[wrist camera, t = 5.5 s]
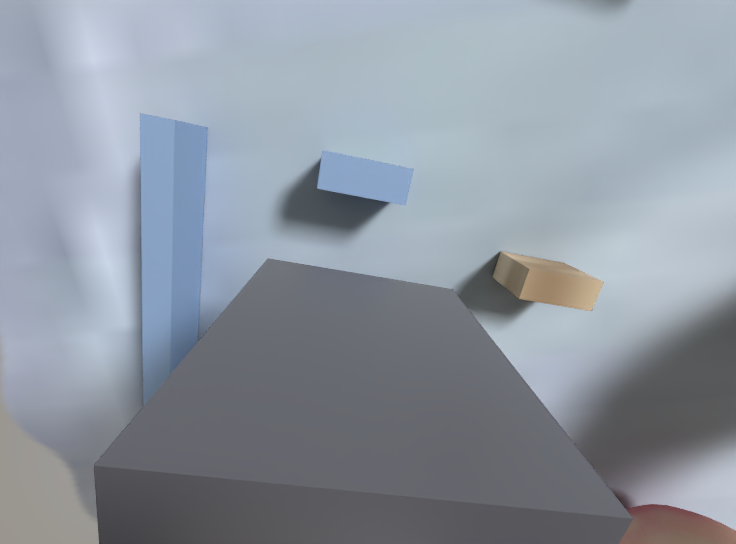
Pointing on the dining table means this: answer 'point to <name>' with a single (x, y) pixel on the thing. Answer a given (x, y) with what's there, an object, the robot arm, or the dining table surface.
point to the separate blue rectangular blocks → (185, 231)
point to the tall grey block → (348, 430)
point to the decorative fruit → (674, 527)
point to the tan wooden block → (546, 281)
